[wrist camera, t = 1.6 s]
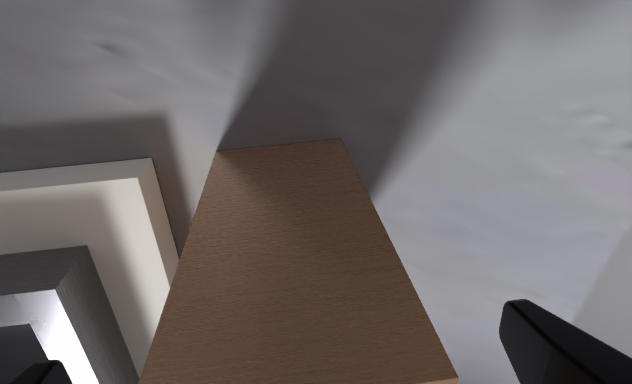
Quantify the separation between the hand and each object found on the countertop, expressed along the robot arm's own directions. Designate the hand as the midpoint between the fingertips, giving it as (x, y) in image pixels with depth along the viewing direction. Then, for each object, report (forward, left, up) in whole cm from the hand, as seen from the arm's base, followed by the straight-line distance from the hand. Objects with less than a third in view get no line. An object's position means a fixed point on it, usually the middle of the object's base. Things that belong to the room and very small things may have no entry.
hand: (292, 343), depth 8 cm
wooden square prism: (0, 0, -6) cm, 6 cm away
